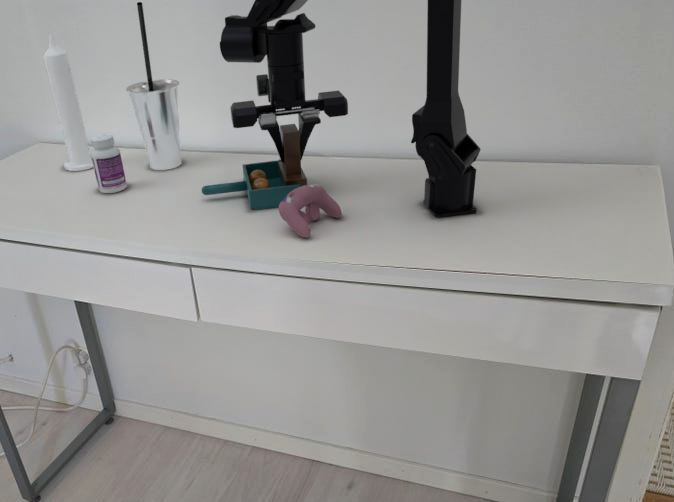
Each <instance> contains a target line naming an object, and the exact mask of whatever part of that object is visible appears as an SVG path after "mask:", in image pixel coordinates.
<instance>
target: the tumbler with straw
mask: <svg viewBox="0 0 674 502" xmlns="http://www.w3.org/2000/svg"><path fill="white" fill-rule="evenodd" d="M136 7H137V13H138V20H139V22H138V23H139V30H140V36H141V42H142V50H143V57H144V58H143V59H144V64H145V72H146V79H147V80H145V81H144V80H143V81H140V82H136V83H132V84H130V85H128V86H127V87H126V89H125V90H126V92H128V93H129V97H130V100H131V103H132V107H133V110H134V114H135V117H136V121H137V126H138V128H139V131H140V135H141V137H142V141H143V145H144V149H145V152H146V156H147V160H148V163H149V168H150V169H151V170H155V171H168V170H172V169H176V168H178V167H180V166H181V165H182V163H183V161H182V148H181V137H180V136H181V135H180V130H181V129H180V113H179V94H178V86H179V85H180V81H178V80H177V79H171V78H168V79H167V78H163V79H162V78H161V79H159V78H158V79H153V75H152V67H151V60H150V51H149V43H148V37H147V29H146V21H145V13H144V6H143V2H141V1H138V2H136Z"/></svg>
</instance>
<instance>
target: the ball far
mask: <svg viewBox="0 0 674 502" xmlns="http://www.w3.org/2000/svg"><path fill="white" fill-rule="evenodd" d="M259 178H264V179H266V180H267V176H266V174H265V173H264V172H263V171H262V170H254V171H253V172H251V174H250V176H249V181H250V184H251V186H252V184H253V182H254V181H255V180H257V179H259Z"/></svg>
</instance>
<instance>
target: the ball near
mask: <svg viewBox="0 0 674 502" xmlns="http://www.w3.org/2000/svg"><path fill="white" fill-rule="evenodd" d="M264 188H271V186H270V183H269V182H268V181H267V180H266V179H264V178H259V179H257V180H255V181H254V182H253V184H252V190H256V189H264Z"/></svg>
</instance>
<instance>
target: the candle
mask: <svg viewBox="0 0 674 502" xmlns="http://www.w3.org/2000/svg"><path fill="white" fill-rule="evenodd" d="M48 39H49V40H48V44H49V45H48V48H47V49H46V51H45V53H43V55H42V56H43V61H44V65H45V69H46V73H47V77H48V81H49V85H50V89H51V93H52V98H53V102H54V105H55V109H56V114H57V117H58V121H59V125H60V129H61V133H62V137H63V141H64V145H65V149H66V154H67V157H68V161H65V162H64V164H63V166H64V167H63V168H64V170H66V171H69V172H80V171H81V172H82V171H86V170H90V169H92V168H93V169H94V167H93V163H92V158H91V150H90V146H89V142H88V138H87V133H86V128H85V125H84V120H83V116H82V112H81V108H80V103H79V99H78V94H77V89H76V86H75V82H74V76H73V72H72V69H71V64H70V60H69V56H68V55H69V54H68V53H67V51H66V50H64V49H62V48H61V47H60V46H58V44H57V43H56V41H55V39H54V37H53V35H52V34H49V35H48Z"/></svg>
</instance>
